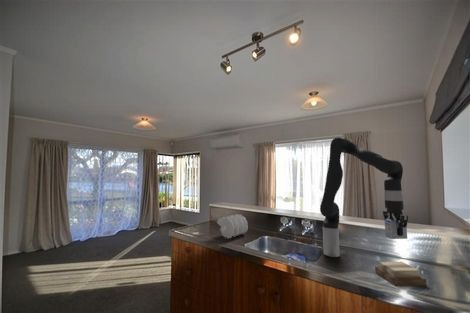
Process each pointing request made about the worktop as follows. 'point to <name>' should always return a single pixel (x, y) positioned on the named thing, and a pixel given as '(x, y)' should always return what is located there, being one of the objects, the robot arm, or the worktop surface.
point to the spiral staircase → (233, 225)
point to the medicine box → (394, 230)
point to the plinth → (401, 280)
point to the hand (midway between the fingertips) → (395, 234)
